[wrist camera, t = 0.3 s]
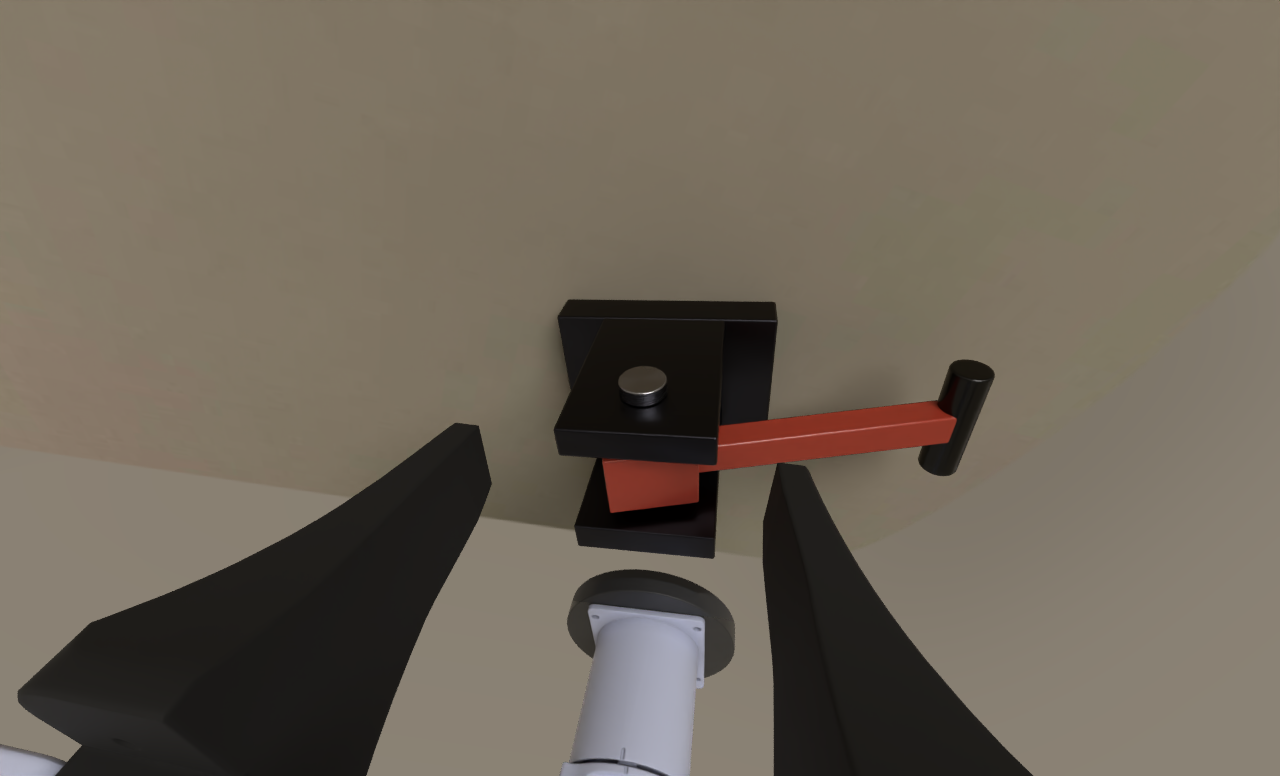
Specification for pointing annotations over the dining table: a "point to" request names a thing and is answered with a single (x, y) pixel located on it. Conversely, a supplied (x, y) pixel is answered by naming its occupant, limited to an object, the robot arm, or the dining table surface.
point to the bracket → (660, 405)
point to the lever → (817, 441)
